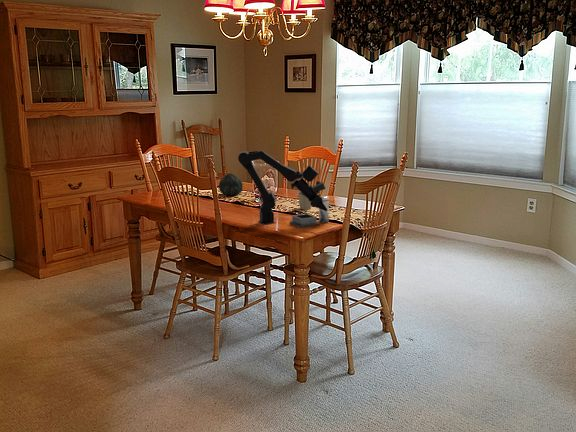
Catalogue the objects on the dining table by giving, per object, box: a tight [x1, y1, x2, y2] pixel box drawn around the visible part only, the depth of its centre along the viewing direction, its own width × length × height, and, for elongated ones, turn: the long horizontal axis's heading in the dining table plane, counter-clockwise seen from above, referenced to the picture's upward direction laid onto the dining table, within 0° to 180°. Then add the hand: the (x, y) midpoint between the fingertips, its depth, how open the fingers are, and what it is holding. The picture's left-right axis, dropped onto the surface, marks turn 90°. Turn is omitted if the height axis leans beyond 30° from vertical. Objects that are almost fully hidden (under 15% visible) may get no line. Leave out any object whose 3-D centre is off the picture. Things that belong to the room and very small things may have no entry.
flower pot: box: [296, 191, 312, 210], centre depth 331 cm, size 9×9×9 cm
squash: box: [218, 172, 244, 196], centre depth 371 cm, size 14×15×15 cm
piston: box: [318, 195, 330, 224], centre depth 299 cm, size 5×5×13 cm
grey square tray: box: [289, 213, 320, 229], centre depth 296 cm, size 11×11×4 cm
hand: (326, 209), depth 299 cm, fingers open, 6 cm apart
